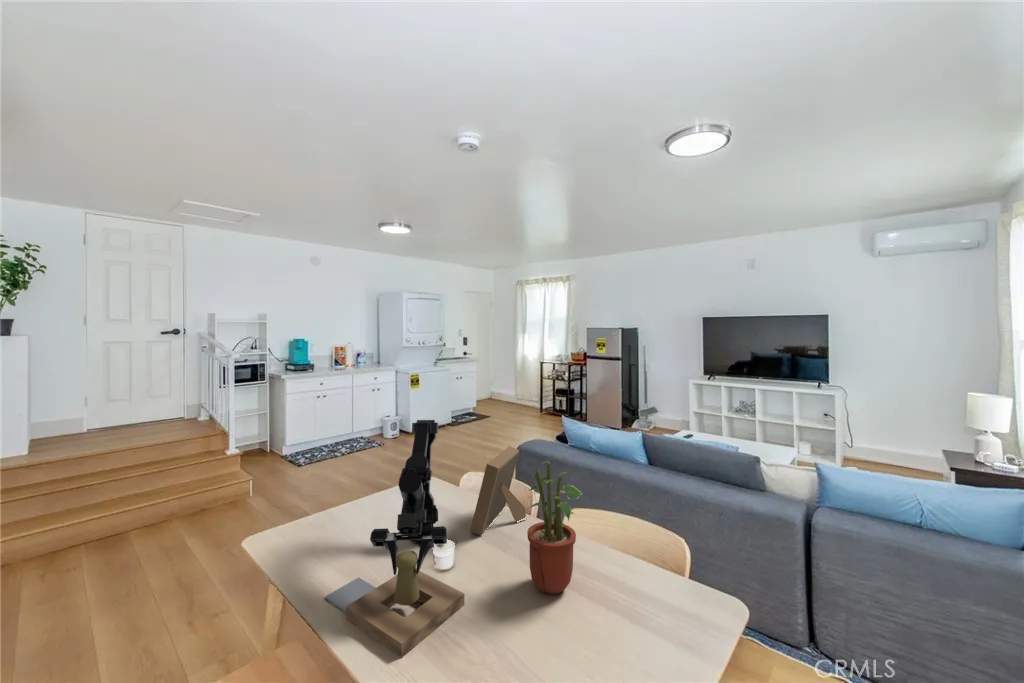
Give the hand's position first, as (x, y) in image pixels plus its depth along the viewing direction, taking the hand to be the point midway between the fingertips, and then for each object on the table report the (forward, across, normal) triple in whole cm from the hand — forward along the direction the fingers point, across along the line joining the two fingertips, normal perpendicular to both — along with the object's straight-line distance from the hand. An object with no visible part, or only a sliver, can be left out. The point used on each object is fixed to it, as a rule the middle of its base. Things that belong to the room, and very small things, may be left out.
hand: (405, 574), depth 98 cm
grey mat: (+1, -15, +13) cm, 20 cm away
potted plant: (0, +38, +15) cm, 40 cm away
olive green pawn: (+4, 0, +6) cm, 7 cm away
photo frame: (-24, +27, +39) cm, 53 cm away
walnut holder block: (+6, 0, +8) cm, 10 cm away
